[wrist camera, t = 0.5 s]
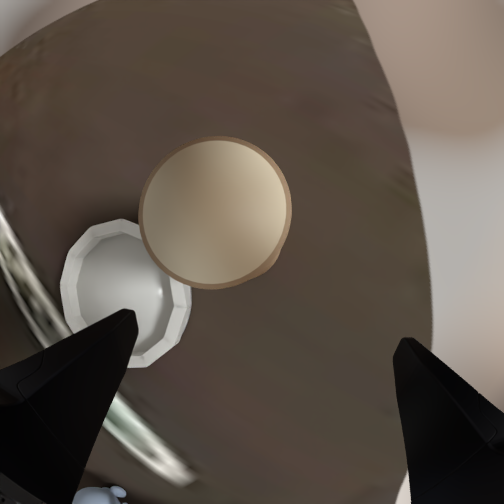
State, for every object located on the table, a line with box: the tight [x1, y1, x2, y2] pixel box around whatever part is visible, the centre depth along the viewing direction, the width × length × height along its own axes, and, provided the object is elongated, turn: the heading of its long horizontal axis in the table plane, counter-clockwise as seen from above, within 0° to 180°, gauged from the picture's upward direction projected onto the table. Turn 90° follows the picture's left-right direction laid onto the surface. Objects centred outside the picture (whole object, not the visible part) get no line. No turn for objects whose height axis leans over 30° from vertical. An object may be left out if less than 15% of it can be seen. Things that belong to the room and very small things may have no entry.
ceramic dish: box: [60, 219, 192, 368], centre depth 23 cm, size 12×12×2 cm
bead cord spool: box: [138, 136, 292, 289], centre depth 17 cm, size 6×6×13 cm
